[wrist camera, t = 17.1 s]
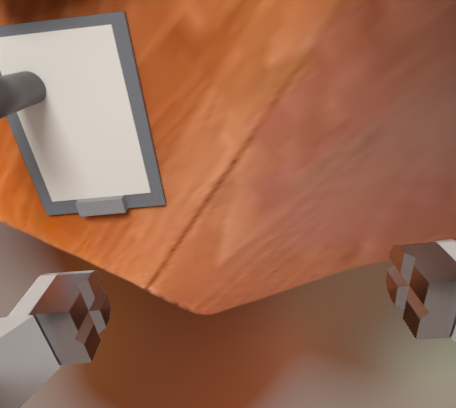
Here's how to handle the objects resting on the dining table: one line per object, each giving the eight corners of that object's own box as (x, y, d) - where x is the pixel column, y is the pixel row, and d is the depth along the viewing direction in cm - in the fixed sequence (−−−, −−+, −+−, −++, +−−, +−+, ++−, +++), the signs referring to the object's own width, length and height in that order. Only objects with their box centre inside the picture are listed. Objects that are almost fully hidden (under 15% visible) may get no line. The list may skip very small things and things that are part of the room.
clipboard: (-27, 29, 34) (-39, 29, 32) (125, 11, 33) (120, 10, 31) (49, 213, 44) (42, 220, 42) (166, 202, 43) (163, 209, 42)
